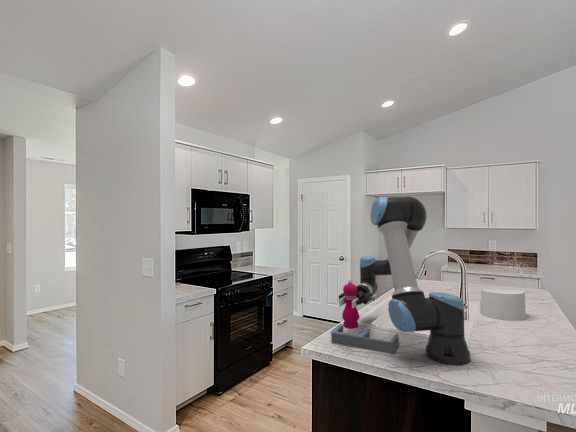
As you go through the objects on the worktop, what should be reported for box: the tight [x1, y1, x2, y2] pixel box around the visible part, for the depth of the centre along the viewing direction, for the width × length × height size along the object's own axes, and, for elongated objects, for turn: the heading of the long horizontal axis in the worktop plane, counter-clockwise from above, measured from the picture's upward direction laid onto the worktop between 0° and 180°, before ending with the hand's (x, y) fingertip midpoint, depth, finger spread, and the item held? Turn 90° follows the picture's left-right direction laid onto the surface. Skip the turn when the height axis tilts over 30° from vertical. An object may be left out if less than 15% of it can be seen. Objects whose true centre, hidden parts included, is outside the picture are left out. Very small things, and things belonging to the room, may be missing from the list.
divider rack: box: [330, 323, 400, 354], centre depth 140 cm, size 26×12×5 cm, turn 61°
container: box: [479, 288, 526, 322], centre depth 176 cm, size 20×20×13 cm
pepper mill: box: [341, 279, 360, 330], centre depth 144 cm, size 7×7×20 cm
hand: (346, 303), depth 139 cm, fingers closed on pepper mill, 5 cm apart
